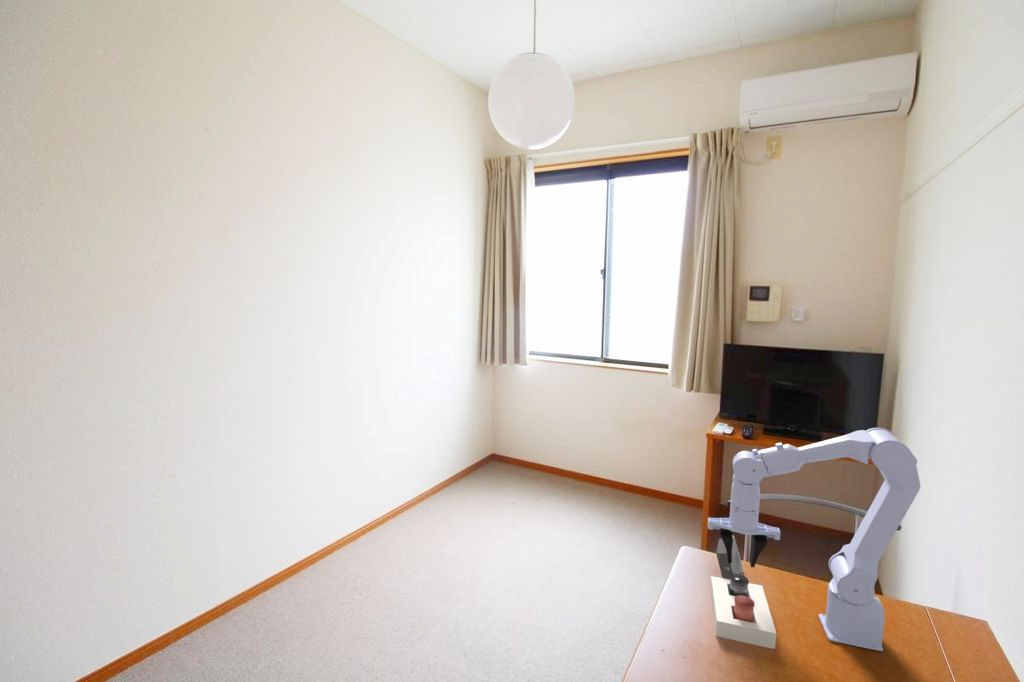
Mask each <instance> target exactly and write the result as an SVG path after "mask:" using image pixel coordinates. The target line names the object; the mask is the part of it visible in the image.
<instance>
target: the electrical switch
mask: <svg viewBox="0 0 1024 682" xmlns="http://www.w3.org/2000/svg"><path fill="white" fill-rule="evenodd" d="M732 537H733V544H732V563H728V561H727V551H726V548H725V545H724V542H723V540H722V538H719V539H718V543H717V548H716V553H715V555H716V559H717V562H718V565H719V570H720V575H721V578H724V579H729V580H730V576H731V575H732V574H740V575H743V565H742V564H743V563H742V560H741V556H740V552H739V548H738V545H737V541H736V537H735V535H733V534H732ZM726 568H727V570H726Z"/></svg>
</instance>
